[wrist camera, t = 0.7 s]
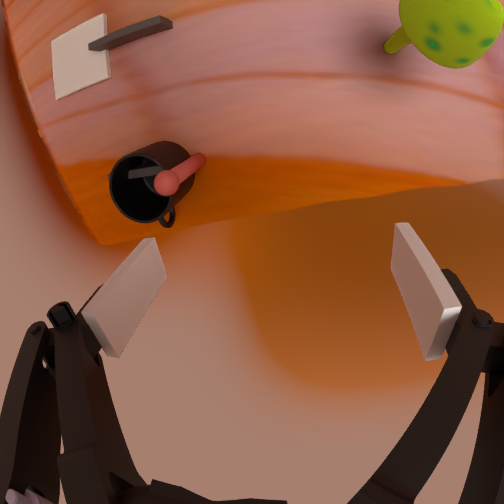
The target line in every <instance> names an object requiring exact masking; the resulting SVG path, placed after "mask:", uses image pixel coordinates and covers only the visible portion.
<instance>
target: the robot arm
mask: <svg viewBox="0 0 504 504" xmlns="http://www.w3.org/2000/svg"><path fill="white" fill-rule="evenodd" d="M391 271H392V273H393V275H394V278H395V280H396V283H397V285H398V287H399V290H400V292H401V295H402V298H403V300H404V303H405V305H406V308H407V310H408V313H409V316H410V319H411V321H412V324H413V327H414V330H415V333H416V336H417V338H418V341H419V344H420V347H421V351H422V354H423V357H424V360H425V361H428V360H433V359H440V358H441V357H442V355H443V353H444V351H445V348H446V351H447V353H448V358H447V360H446V362H445V364H444V366H443V368H442V370H441V372H440V374H439V376H438V378H437V380H436V382H435V384H434V385H433V387H432V389H431V391H430V393H429V394H428V396H427V398H426V400H425V401H424V403H423V405H422V406H421V408H420V410H419V411H418V413H417V415H416V416H415V418H414V419H413V421H412V422H411V424H410V425H409V427H408V428H407V430H406V431H405V433H404V434H403V436H402V437H401V439H400V440H399V442H398V443H397V444H396V446H395V447H394V448H393V450H392V451H391V452H390V454H389V455H388V456H387V458H386V459H385V460H384V462H383V463H382V464H381V466H380V467H379V468H378V469H377V470H376V472H375V473H374V474H373V475H372V477H371V478H370V479H369V480H368V481H367V483H366V484H365V485H364V486H363V487H362V488H361V489H360V490H359V491H358V493H356V495H355V496H354V497H353V498H352V499H351V500H350V501H349V502H348V503H347V504H414V500H415V498H416V496H417V494H418V493H419V492H420V490H421V489H422V487H423V486H424V485H425V483H426V482H427V480H428V479H429V477H430V476H431V474H432V472H433V471H434V469H435V468H436V466H437V464H438V463H439V461H440V459H441V457H442V456H443V454H444V452H445V450H446V449H447V447H448V445H449V443H450V441H451V439H452V437H453V436H454V434H455V432H456V430H457V427H458V426H459V423H460V421H461V419H462V417H463V415H464V413H465V411H466V408H467V406H468V403H469V401H470V399H471V396H472V394H473V392H474V389H475V387H476V384H477V381H478V378H479V376H480V373H481V372H484V373H485V385H484V395H483V403H482V410H481V417H480V423H479V429H478V434H477V439H476V444H475V448H474V453H473V457H472V461H471V465H470V468H469V472H468V475H467V479H466V482H465V485H464V488H463V492H462V494H461V497H460V500H459V503H458V504H504V323H498V322H494V320H493V318H492V316H491V315H490V314H489V313H487V312H485V311H484V310H480V309H477V308H476V306H475V304H474V303H473V301H472V299H471V298H470V296H469V294H468V293H467V291H466V290H465V288H464V286H463V285H462V284H461V282H460V280H459V279H458V277H457V276H456V274H454V273H453V272H452V271H450V270H449V269H440V268H439V267H438V265H437V264H436V262H435V261H434V259H433V257H432V256H431V254H430V253H429V251H428V250H427V248H426V247H425V245H424V244H423V243H422V241H421V240H420V238H419V237H418V236H417V234H416V233H415V231H414V230H413V228H412V227H411V226H410V224H409V223H395V232H394V242H393V252H392V260H391ZM167 277H168V276H167V274H166V270H165V268H164V265H163V261H162V258H161V256H160V252H159V249H158V246H157V243H156V240H155V237H154V238H144V239H143V240H142V241H141V242H140V243H139V244H138V245H137V247H136V248H135V249H134V250H133V251H132V252H131V253H130V254H129V255H128V257H127V258H126V259H125V260H124V261H123V262H122V263H121V264H120V266H119V267H118V268H117V269H116V270H115V272H114V273H113V274H112V275H111V276H110V277H109V279H108V280H107V281H106V282H105V283H104V284H103V285H101V286H100V287H98V289H97V290H96V291H95V292H94V293H93V295H92V296H91V297H90V298H89V300H88V301H87V302H86V303H85V304H84V306H83V307H82V308H81V309H80V311H79V312H78V313H77V314H76V315H75V313H74V311H73V309H72V308H71V306H70V304H69V303H68V302H65V301H64V302H60V303H57V304H56V305H54V306H53V307H52V308H51V309H50V310H49V311H48V313H47V317H48V318H49V320H50V322H51V323H52V325H53V327H54V328H49V329H48V328H47V326H46V324H45V322H43V321H38V322H35V323H34V324H32V325H31V326H30V327H29V328H28V330H27V332H26V334H25V337H24V340H23V342H22V345H21V348H20V351H19V353H18V356H17V359H16V362H15V365H14V368H13V371H12V374H11V378H10V381H9V384H8V388H7V391H6V395H5V399H4V403H3V407H2V411H1V415H0V504H58V503H59V495H60V479H61V483H62V487H63V492H64V495H65V499H66V503H67V504H287V501H282V500H264V499H252V498H250V499H239V500H228V501H211V500H209V499H206V498H204V497H202V496H200V495H198V494H195V493H193V492H191V491H189V490H187V489H185V488H183V487H180V486H176V485H172V484H168V483H164V482H161V481H157V480H154V479H152V482H151V485H147V484H146V483H145V481H144V480H143V479H142V477H141V476H140V475H139V474H138V472H137V470H136V468H135V466H134V463H133V461H132V458H131V455H130V453H129V450H128V447H127V445H126V442H125V439H124V436H123V433H122V430H121V427H120V424H119V421H118V418H117V415H116V411H115V408H114V405H113V402H112V398H111V394H110V390H109V387H108V383H107V379H106V374H105V370H104V366H103V362H102V357H101V356H100V354H99V351H100V349H101V348H102V349H103V350H104V352H105V353H106V355H107V356H111V357H116V358H120V356H121V354H122V352H123V351H124V349H125V347H126V345H127V344H128V342H129V340H130V338H131V337H132V335H133V333H134V332H135V330H136V328H137V327H138V325H139V323H140V321H141V320H142V318H143V317H144V315H145V313H146V312H147V310H148V308H149V306H150V305H151V303H152V302H153V300H154V298H155V297H156V295H157V294H158V292H159V290H160V289H161V287H162V285H163V284H164V282H165V281H166V279H167ZM43 360H44V362H45V363H46V364H47V365H46V368H44V367H43V363H42V361H43ZM61 434H62V439H63V445H64V453H63V454H60V448H61V447H60V446H61Z"/></svg>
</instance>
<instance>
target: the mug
mask: <svg viewBox="0 0 504 504" xmlns="http://www.w3.org/2000/svg"><path fill="white" fill-rule="evenodd" d="M188 158H190V155H189V153H188V152H187V151H186V150H185V149H184V148H183V147H181V146H180V145H178V144H176V143H174V142H169V141H161V142H157V143H154V144H151V145H149V146H146V147H144V148H142V149H139V150H137V151H135V152H132V153H130V154H128V155H126V156H124V157H122V158H121V159H120V160H119V161H118V162H117V163H116V164H115V166H114V167H113V169H112V171H111V174H110V179H109V189H110V194H111V197H112V200H113V202H114V204H115V205H116V207H117V208H118V210H119V211H120V212H121V213H122V214H123V215H124V216H126V217H127V218H129V219H131V220H133V221H135V222H139V223H151V222H155V221H157V220H159V222H160V224H161V225H162V226H163V227H165V228H170V227H172V225H173V224H174V221H175V210H174V205H175V204H176V203H177V202H179V201H180V200H181V199H182V198H183V197H184V196H185V195H186V194H187V193H188V192H189V190H190V189H191V187H192V185H193V183H194V179H195V172H194V173H193V174H192V175H190V176H189V177H188V178H187V179H185V180H184V181H183V182H182V183H180V184H179V188H178V190H177V191H176V192H175V193H174V194H172V195H169V196H163V195H161V194H159V193H158V192H157V191H156V189H155V187H154V180H155V177H156V176H157V175H152V176H145V177H138V178H132V179H129V177H128V174H129V170H131V169H133V168H135V167H137V166H139V165H141V164H145V163H151V162H155V163H156V164H157V165H158V166H159V167H160V168H161V169H162V170H163V171H164V170H171V169H172V168H174V167H176V166H177V165H179V164H180V163H182V162H184V161H185V160H187V159H188ZM168 211H169V213H170V218H169V221H168V222H166V221H165V219H164V215H165V214H166V213H167V212H168Z"/></svg>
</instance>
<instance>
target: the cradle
mask: <svg viewBox="0 0 504 504" xmlns="http://www.w3.org/2000/svg"><path fill="white" fill-rule="evenodd" d="M171 28H173V27H172V21H170V20H168V19H166V18H164V17H162V16H157V17H153V18H150V19H147V20H144V21H142V22H139V23H136V24H133V25H131V26H128V27H125V28H123V29H120V30H118V31H115V32H113V33H111V34H108V35H106V36H104V37H101V38H99V39H97V40H95V41H93V42H91V43H88V50H89V51H103V50H105V49H106V50H110V49H112V48H115V47H117V46H120V45H122V44H125V43H128V42H130V41H133V40H136V39H139V38H142V37H145V36H148V35H151V34H154V33H158V32H161V31H164V30H168V29H171ZM205 163H206V157H205V156H204V155H203V154H202V153H197V154H195V155H193V156H192V157H190V158H188V159H187V160H185V161H184V162H182V163H180V164H179V165H177V166H176V167H174V168H172V169H171V170H164V171H163V170H162V169H161V168H160V167H159V166H158V165H157V164H156V163H155V162H151V163H145V164H141V165H139V166H137V167H135V168H133V169H131V170H129V174H128V177H129V179H132V178H138V177H145V176H152V175H157V176H156V177H155V180H154V187H155V189H156V191H157V192H158V193H159V194H161V195H163V196H169V195H172V194H174V193H175V192H176V191H177V190H178V188H179V184H180V183H182V182H183V181H184V180H185V179H187V178H188V177H189V176H190V175H192V174H193V173H194V172H195V171H197V170H198V169H199V168H200V167H202V166H203V165H204V164H205ZM110 174H111V173H110ZM110 174H108V179H110Z"/></svg>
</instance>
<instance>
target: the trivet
mask: <svg viewBox="0 0 504 504" xmlns="http://www.w3.org/2000/svg"><path fill="white" fill-rule="evenodd" d="M106 35H108V32H107V14H105V13H102V14H100V15H98V16H96V17H94V18H92V19H90V20H88V21H86V22H84V23H82V24H80V25H78V26H76V27H75V28H73V29H71V30H69V31H67V32H66V33H64V34H62V35H61V36H59V37H57V38H56V39H54V40H52V41H51V48H52V66H53V78H54V88H55V97H56V100H60V99H62V98H64V97H66V96H68V95H70V94H73V93H75V92H77V91H79V90H82V89H84V88H87V87H89V86H91V85H94V84H96V83H99V82H101V81H104V80H107V79H109V78H111V68H110V58H109V50H106V49H105V50H103V51H89V50H88V43H91V42H93V41H95V40H97V39H99V38H101V37H104V36H106Z"/></svg>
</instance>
